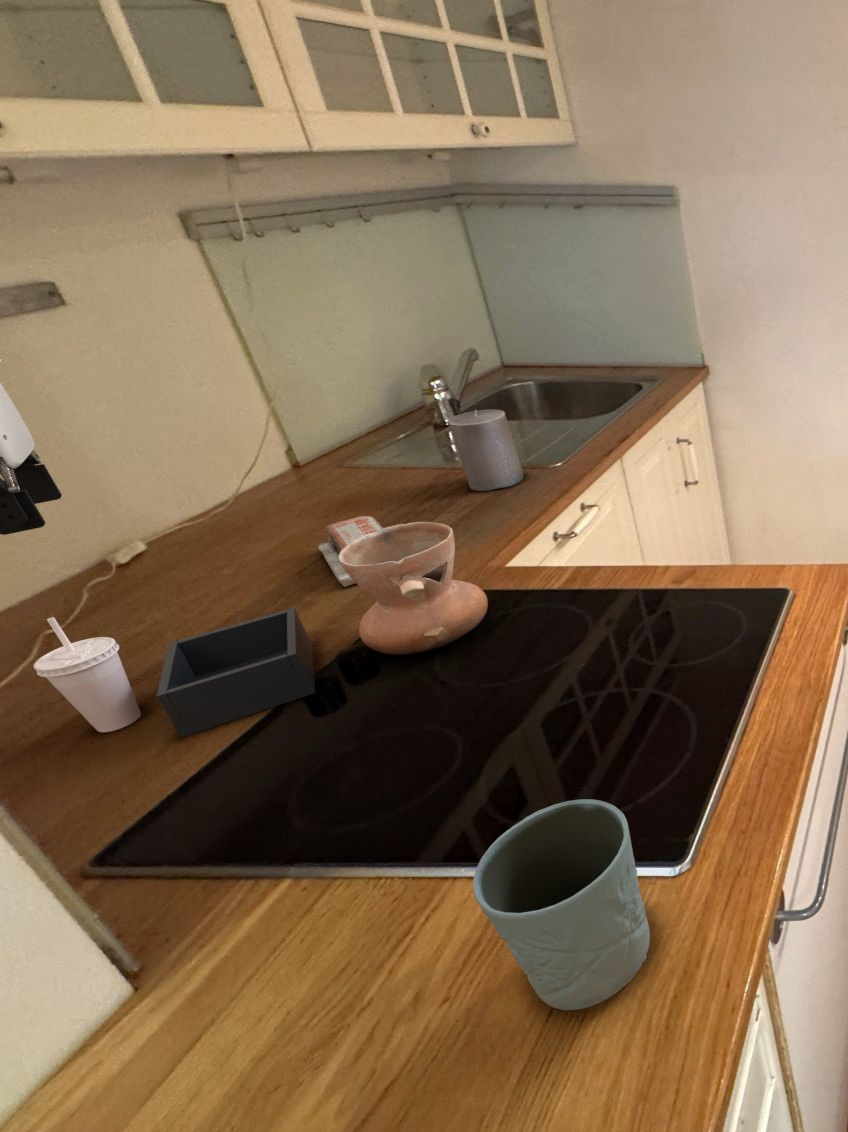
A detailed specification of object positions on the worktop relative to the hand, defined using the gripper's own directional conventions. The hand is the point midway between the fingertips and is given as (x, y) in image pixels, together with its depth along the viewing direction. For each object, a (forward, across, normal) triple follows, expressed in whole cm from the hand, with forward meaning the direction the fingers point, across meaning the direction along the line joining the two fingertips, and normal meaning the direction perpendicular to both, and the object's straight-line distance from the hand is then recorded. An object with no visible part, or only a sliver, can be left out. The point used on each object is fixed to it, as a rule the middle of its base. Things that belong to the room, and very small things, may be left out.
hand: (33, 515), depth 81 cm
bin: (+25, +5, +10) cm, 27 cm away
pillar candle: (+25, -49, +48) cm, 73 cm away
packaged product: (+25, -27, +24) cm, 44 cm away
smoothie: (+25, +3, -2) cm, 25 cm away
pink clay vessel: (+25, +6, +29) cm, 39 cm away
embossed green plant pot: (+25, +71, +30) cm, 81 cm away
